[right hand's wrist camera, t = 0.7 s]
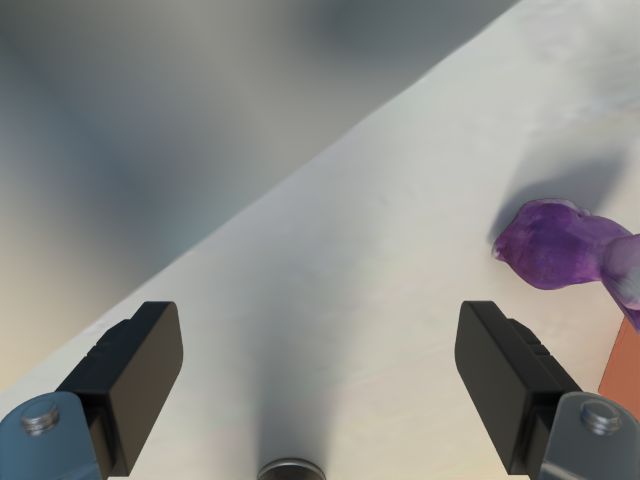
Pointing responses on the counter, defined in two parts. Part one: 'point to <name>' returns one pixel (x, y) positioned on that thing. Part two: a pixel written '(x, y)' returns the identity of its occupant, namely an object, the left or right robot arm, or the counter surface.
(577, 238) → the figurine
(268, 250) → the counter surface
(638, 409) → the chest
